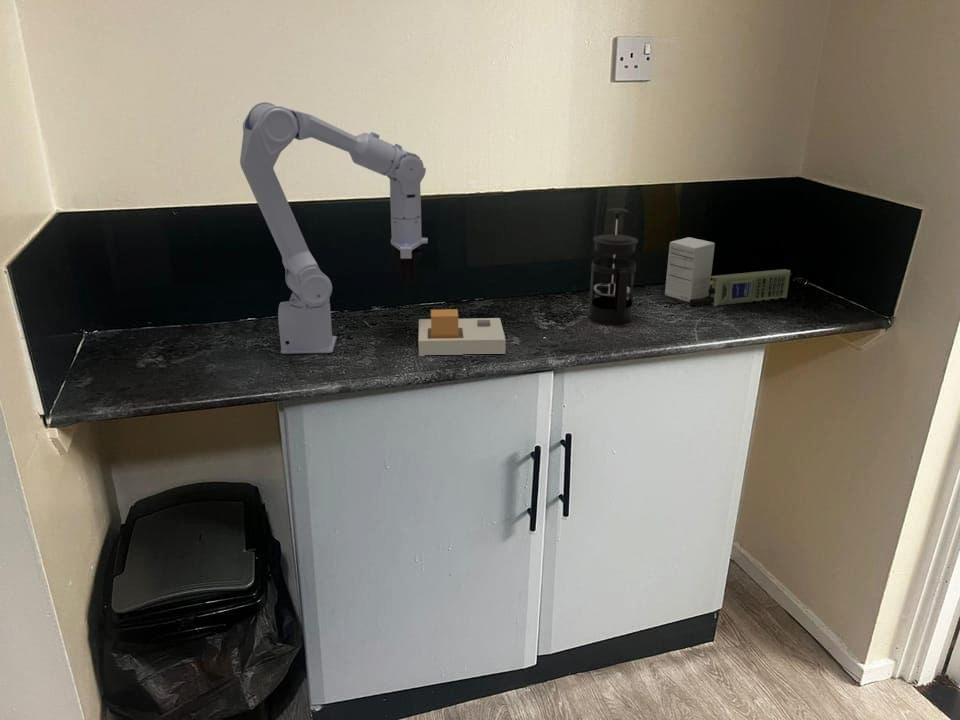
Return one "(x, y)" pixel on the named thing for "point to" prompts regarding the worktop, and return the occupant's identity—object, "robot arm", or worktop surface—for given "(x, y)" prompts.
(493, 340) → the socket
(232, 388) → the worktop surface
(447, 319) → the plug
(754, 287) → the handheld radio
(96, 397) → the worktop surface
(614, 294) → the french press
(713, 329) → the worktop surface
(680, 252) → the grey drawer unit
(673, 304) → the worktop surface
